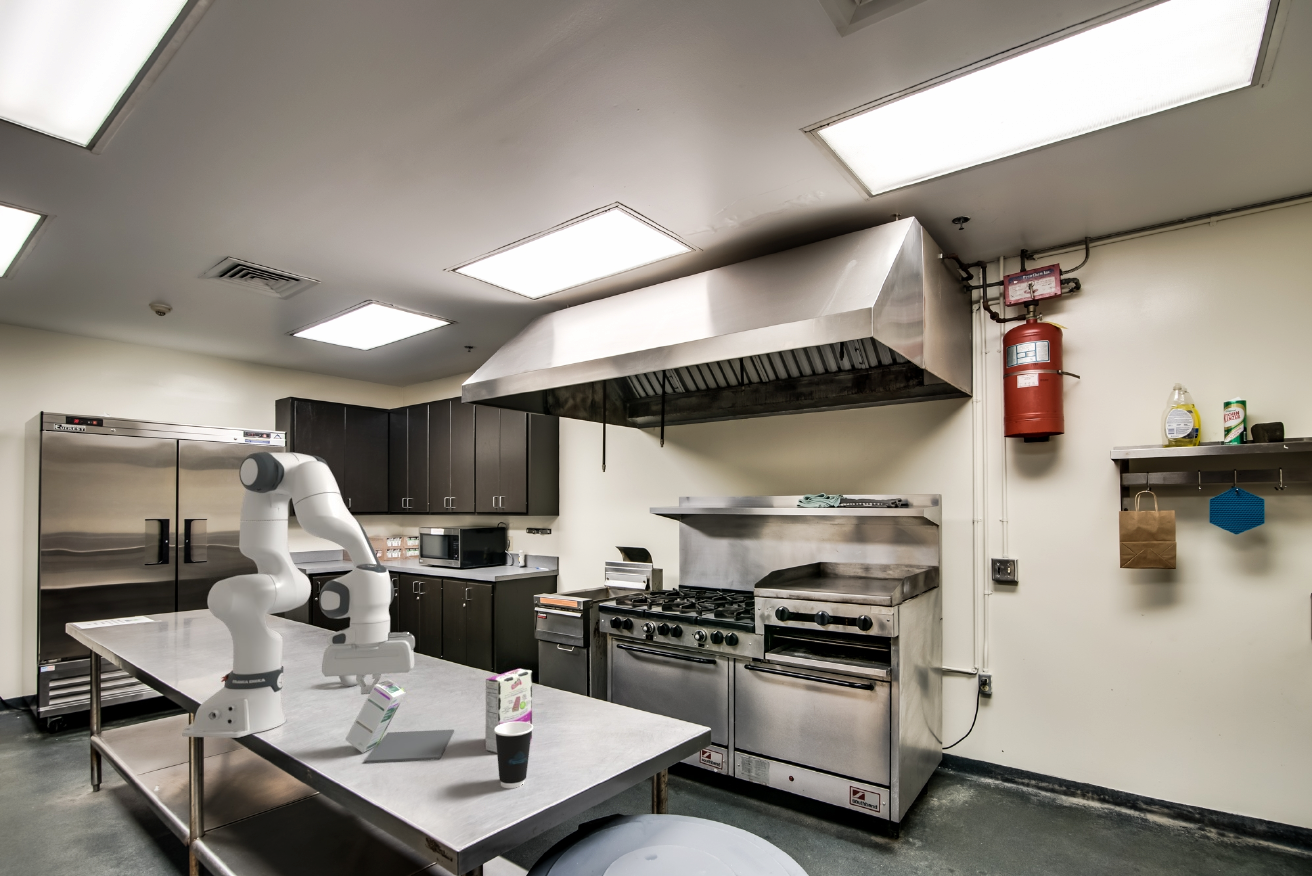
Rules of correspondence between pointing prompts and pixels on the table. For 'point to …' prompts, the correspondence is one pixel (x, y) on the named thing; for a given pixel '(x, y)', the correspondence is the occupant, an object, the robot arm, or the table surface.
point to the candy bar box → (507, 702)
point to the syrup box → (375, 715)
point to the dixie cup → (513, 752)
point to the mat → (410, 746)
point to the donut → (349, 680)
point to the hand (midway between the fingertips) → (368, 693)
